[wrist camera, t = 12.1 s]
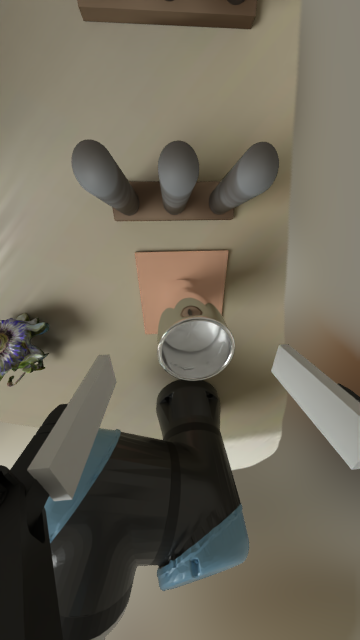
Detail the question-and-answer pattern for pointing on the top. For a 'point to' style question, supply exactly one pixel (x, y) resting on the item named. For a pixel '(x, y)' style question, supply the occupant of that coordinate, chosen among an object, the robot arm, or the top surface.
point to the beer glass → (192, 334)
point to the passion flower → (20, 345)
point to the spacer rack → (177, 157)
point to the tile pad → (178, 278)
